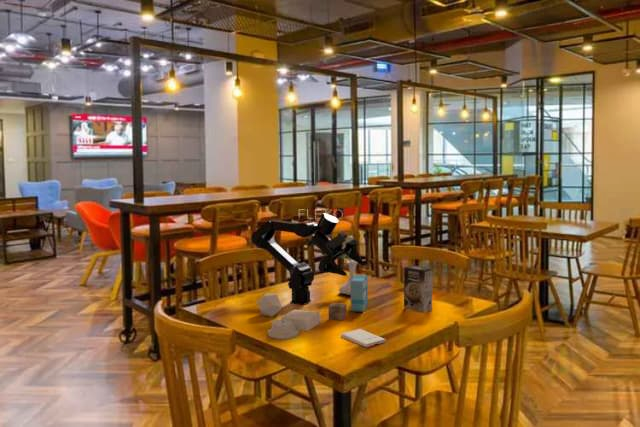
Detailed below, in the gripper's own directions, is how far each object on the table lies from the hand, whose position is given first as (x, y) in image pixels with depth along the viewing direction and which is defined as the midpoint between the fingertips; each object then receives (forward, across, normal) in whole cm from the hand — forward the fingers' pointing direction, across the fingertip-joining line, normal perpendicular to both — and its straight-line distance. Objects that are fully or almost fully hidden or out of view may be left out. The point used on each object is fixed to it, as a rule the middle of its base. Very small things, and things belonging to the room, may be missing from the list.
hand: (354, 269), depth 203 cm
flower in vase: (-5, +12, +30) cm, 32 cm away
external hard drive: (+25, -24, -5) cm, 35 cm away
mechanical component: (+4, -38, +3) cm, 39 cm away
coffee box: (+24, +14, +11) cm, 29 cm away
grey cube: (+8, -15, +10) cm, 19 cm away
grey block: (+3, -29, +8) cm, 30 cm away
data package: (+8, 0, +16) cm, 17 cm away
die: (-12, -29, +17) cm, 36 cm away
